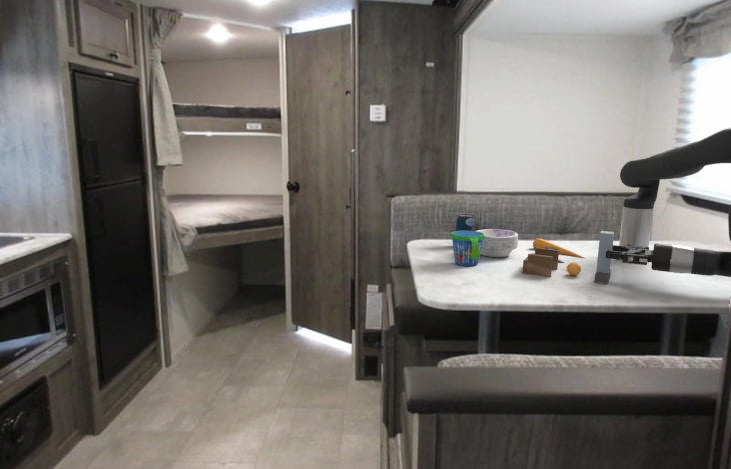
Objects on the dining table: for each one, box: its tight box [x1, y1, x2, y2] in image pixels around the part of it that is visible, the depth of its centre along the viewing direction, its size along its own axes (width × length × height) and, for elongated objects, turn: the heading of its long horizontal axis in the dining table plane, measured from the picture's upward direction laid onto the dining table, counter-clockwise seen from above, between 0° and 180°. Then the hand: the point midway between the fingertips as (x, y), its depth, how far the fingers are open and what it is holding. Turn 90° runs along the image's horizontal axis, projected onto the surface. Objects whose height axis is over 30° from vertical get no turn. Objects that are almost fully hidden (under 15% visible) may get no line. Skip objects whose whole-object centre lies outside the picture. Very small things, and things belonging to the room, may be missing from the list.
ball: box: [566, 261, 582, 276], centre depth 153 cm, size 4×4×4 cm
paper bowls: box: [476, 228, 519, 258], centre depth 178 cm, size 15×15×8 cm
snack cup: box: [450, 230, 485, 267], centre depth 164 cm, size 16×10×10 cm
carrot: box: [532, 238, 585, 259], centre depth 182 cm, size 20×4×4 cm, turn 41°
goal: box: [522, 247, 560, 278], centre depth 157 cm, size 11×8×6 cm
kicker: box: [593, 230, 615, 285], centre depth 148 cm, size 9×3×14 cm, turn 150°
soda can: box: [455, 213, 476, 231], centre depth 189 cm, size 7×7×12 cm
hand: (607, 251), depth 147 cm, fingers open, 8 cm apart
